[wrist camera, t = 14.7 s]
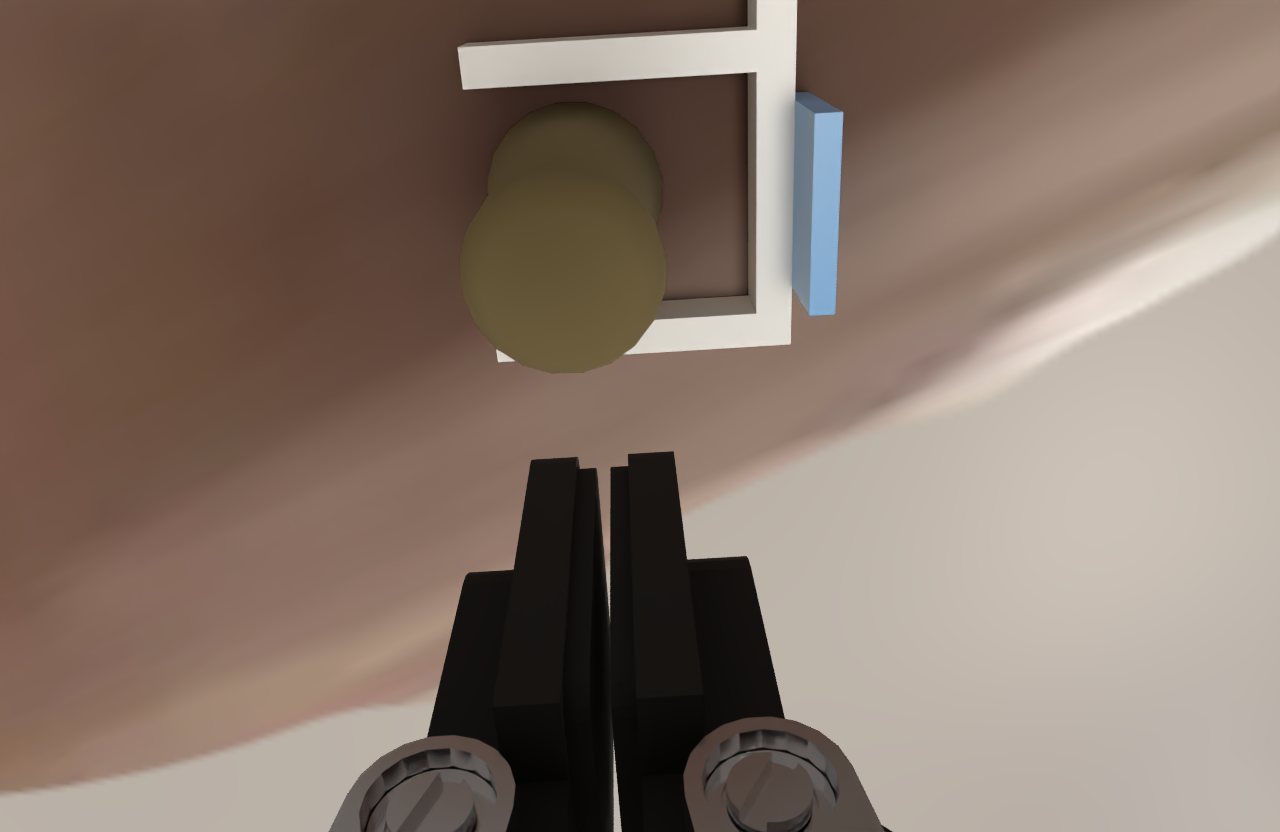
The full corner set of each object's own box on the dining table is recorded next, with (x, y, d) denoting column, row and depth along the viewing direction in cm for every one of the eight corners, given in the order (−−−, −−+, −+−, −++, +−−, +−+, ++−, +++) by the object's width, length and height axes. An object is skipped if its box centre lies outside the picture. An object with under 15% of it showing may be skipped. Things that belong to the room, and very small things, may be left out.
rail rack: (422, -306, 26) (384, -366, 21) (818, -329, 26) (863, -393, 21) (503, 341, 34) (487, 397, 29) (802, 323, 34) (832, 376, 30)
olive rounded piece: (480, 266, 33) (425, 393, 23) (493, 88, 30) (438, 143, 20) (649, 288, 33) (667, 421, 23) (676, 115, 31) (709, 182, 21)
